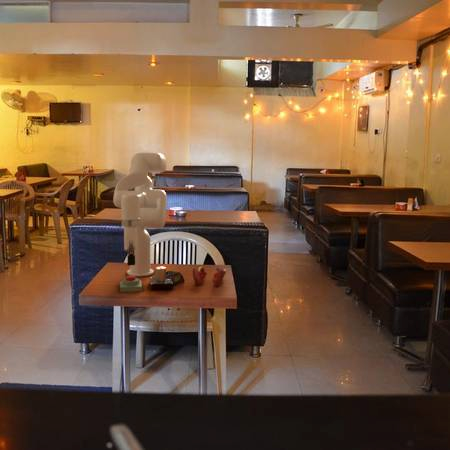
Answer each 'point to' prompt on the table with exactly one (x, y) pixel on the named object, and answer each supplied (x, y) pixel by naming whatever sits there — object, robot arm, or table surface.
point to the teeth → (201, 274)
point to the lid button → (130, 278)
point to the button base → (130, 285)
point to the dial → (160, 273)
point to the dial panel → (160, 284)
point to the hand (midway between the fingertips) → (131, 264)
